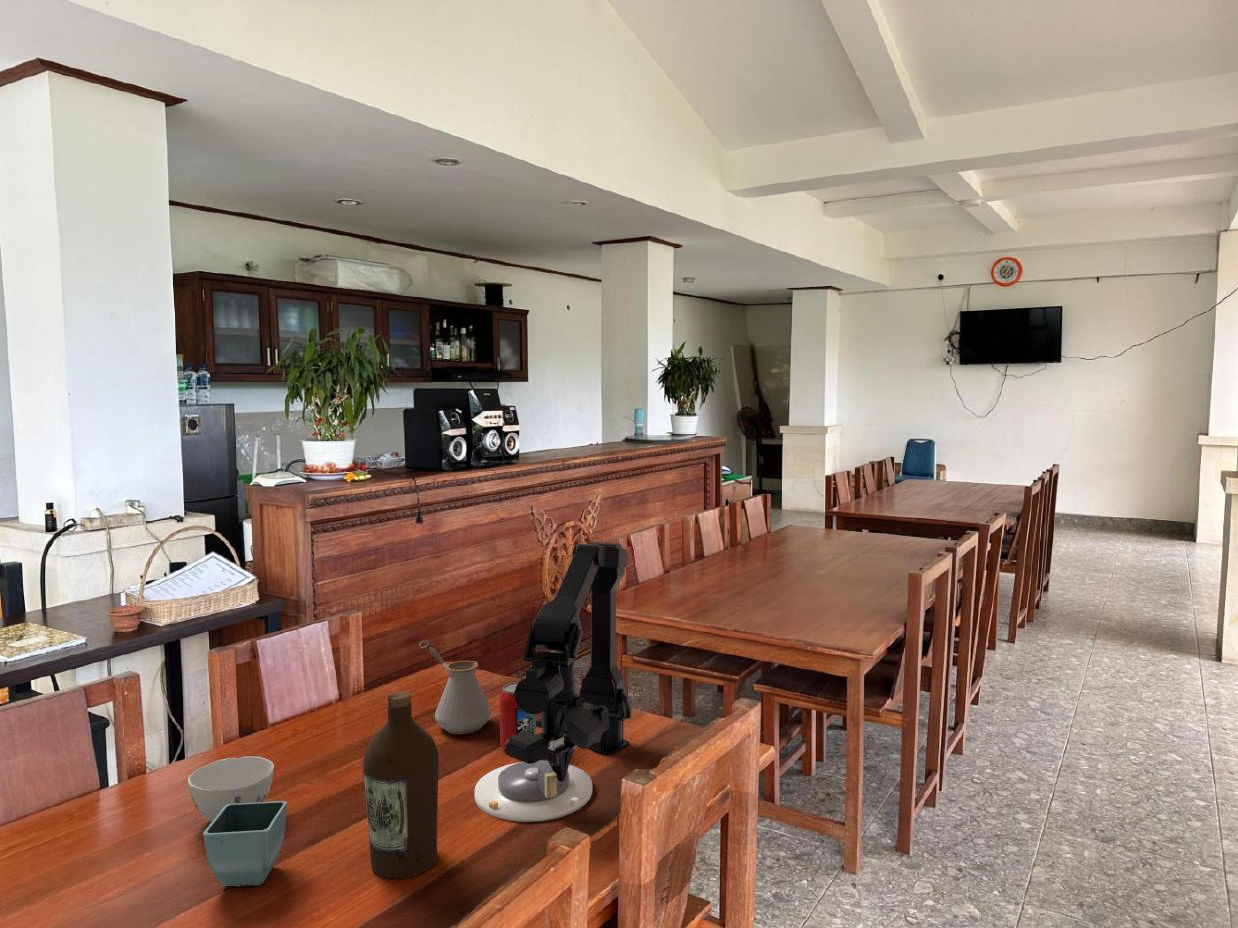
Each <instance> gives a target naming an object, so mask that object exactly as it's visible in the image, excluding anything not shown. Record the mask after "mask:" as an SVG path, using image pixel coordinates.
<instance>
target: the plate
mask: <svg viewBox="0 0 1238 928" xmlns="http://www.w3.org/2000/svg"><path fill="white" fill-rule="evenodd" d="M521 762H522V761H520V762H519V761H518V762H514V763H510V764H505V765H503V766H500V767H498V768H495V769H493V770H491V771H490V772H487V773H486V774H485V775H483V776H482V777H480V779H478V781H477V783H476V785H475V787H474V801H475V804H476V805H477V807H478V808H479V809H480V810H481V811H482V812H484V813H485V814H487V815H489V816H492V817H494V818H497V819H501V820H505V821H509V822H510V821H511V822H521V823H530V822H531V823H532V822H534V823H535V822H544V821H549V820H550V821H551V820H555V819H559V818H562V817H566V816H568V815H570V814H573V813H574V812H576V811H578V810H580V809H582V808H583V807H584V806H585V805H586V804H587V803H588V802H589V801H590V799H591V797H592V795H593V781H592V778H591V777H590V775H589V774H588V773H587V772H586V771H584V770H583V769H582V768H581V769H580V768H579V767H577V766H574V765H572V764H569V767H568V770H567V771H568V773H569V786H568V788H567V790H566V791H565V792H563V793H562V794H560V795H559V796H556V797H554V798H551V799H548V800H543V801H535V802H524V801H517V800H513V799H510V798H507V797H505V796H504V795H502V794H501V793H500V791H499V789H498V777H499V774H500V773H501V772H502V771H503V770H504V769H506V768H507V767H509V766H511V765H514V764H517V763H521Z"/></svg>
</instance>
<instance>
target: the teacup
mask: <svg viewBox="0 0 1238 928" xmlns="http://www.w3.org/2000/svg"><path fill="white" fill-rule="evenodd" d="M274 767H275V765H274V763H273V761H271V760H270V759H267V758H265V757H261V756H249V755H248V756H245V755H243V756H242V757H238V758H237V757H229V758H228V757H227V758H223V759H218V760H215V761H213V762H211V763H209V764H206V765H204V766H202V767H200V768H198V769H195V770H194V771H193V772H192V773H191V774H189V776H188V778H187V785H188V791H189V794H190V797H191V799H192V802H193V805H194V806H195V808H196V810H197V811H198V812H199V814H201V816H203V818H205V819H206V820H207V821H209V822H211V823H212V821H213V820H214V819H215V818H216V816H217V815H218V814H219V813H220V811H221V810H222V809H223V807H224V806H225V805H227V804H234V803H256V802H266V799H267V797H268V795H269V793H270V789H271V786H272V783H273V778H274V770H275V769H274Z"/></svg>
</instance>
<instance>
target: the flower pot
mask: <svg viewBox="0 0 1238 928" xmlns="http://www.w3.org/2000/svg"><path fill="white" fill-rule="evenodd" d="M287 808H288V801H286V800H277V801H264V802H256V803H234V804H227V805H225V806H224V807H223V809H222V810H221V811H220V813H219V814H218V815H217V816H216V818H215V819H214V820H213V821H212V822H211V823H209V825H208V826H207V827H206V828H205V830H204V831H203V833H202V836H203V842H204V847H205V850H206V856H207V860H208V861H207V862H208V864H209V868H210V870H211V873H212V874H213V875H214V877H215V878H216V880H217V881H219V883H220V884H221V885H223V886H224V887H225V886H236V887H239V886H238V885H243V886H242V887H246V886H245V885H250V886H251V885H253V886H261V885H262V884H263V883H264V882H266V881H265V880H267V877H268V876H269V874H270V872H271V871H272V869H273V867H274V865H275V863H276V861H277V860H278V857H279V854H280V851H281V849H282V846H283V843H284V838H285V834H286V824H287V823H286V822H287ZM260 884H261V885H260ZM251 887H252V886H251Z"/></svg>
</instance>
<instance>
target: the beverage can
mask: <svg viewBox="0 0 1238 928" xmlns="http://www.w3.org/2000/svg"><path fill="white" fill-rule="evenodd" d="M519 682H520V681H519ZM519 682H510V683H507V684H504V685H503V687H502V691H501V692H500V694H499V732H500V733H499V735H500V737H499V738H500V746H501V748H502V749H503V750H505V751H506V741H507V740H508V739H509V738H510V737H512V736H514V735H516V734H519V733H521V732H523V731H525V730H526V731H528V732H531V733H534V734H537V733H536V732H537V731H536V728H537V726H536V714H529V713H526V712H525V711H523V710H522V709H521V708H520V707H519V706H518V704H517V703H516V700H515V696H514V691H515V689H516V686H517V684H518V683H519Z"/></svg>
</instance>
